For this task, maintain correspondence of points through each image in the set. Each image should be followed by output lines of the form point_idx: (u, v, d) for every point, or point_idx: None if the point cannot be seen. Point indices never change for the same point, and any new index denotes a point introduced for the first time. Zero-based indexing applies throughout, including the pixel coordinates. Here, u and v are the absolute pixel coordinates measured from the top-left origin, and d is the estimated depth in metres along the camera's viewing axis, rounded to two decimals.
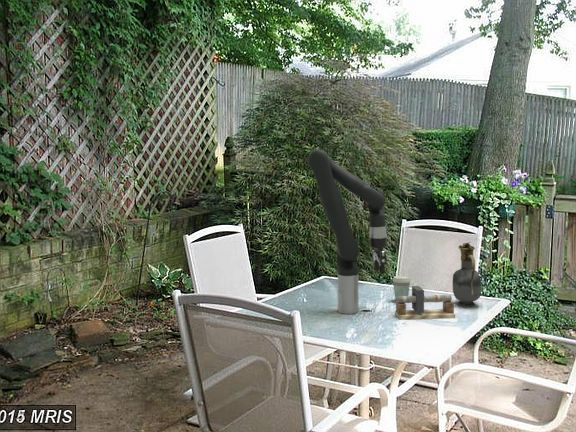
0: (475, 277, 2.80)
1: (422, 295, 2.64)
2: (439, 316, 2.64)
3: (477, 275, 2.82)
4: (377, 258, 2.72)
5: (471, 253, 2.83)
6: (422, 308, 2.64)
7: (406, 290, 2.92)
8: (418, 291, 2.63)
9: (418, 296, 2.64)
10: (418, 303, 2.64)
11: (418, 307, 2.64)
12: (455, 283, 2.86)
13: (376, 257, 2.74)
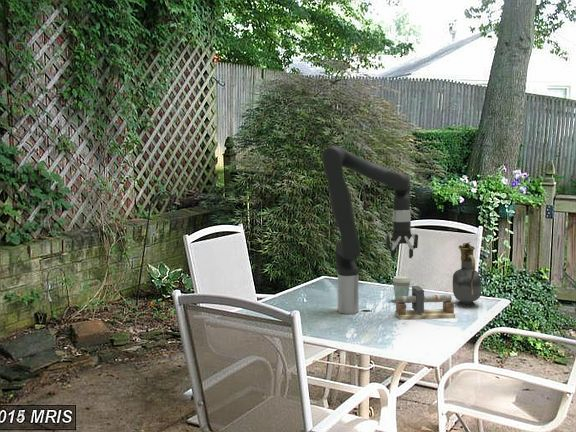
0: (475, 277, 2.80)
1: (422, 295, 2.64)
2: (439, 316, 2.64)
3: (477, 275, 2.82)
4: None
5: (471, 253, 2.83)
6: (422, 308, 2.64)
7: (406, 290, 2.92)
8: (418, 291, 2.63)
9: (418, 296, 2.64)
10: (418, 303, 2.64)
11: (418, 307, 2.64)
12: (455, 283, 2.86)
13: (406, 241, 2.64)
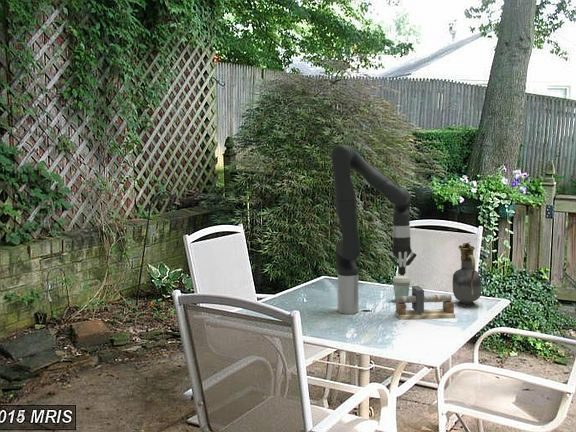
0: (475, 277, 2.80)
1: (422, 295, 2.64)
2: (439, 316, 2.64)
3: (477, 275, 2.82)
4: (406, 259, 2.65)
5: (471, 253, 2.83)
6: (422, 308, 2.64)
7: (406, 290, 2.92)
8: (418, 291, 2.63)
9: (418, 296, 2.64)
10: (418, 303, 2.64)
11: (418, 307, 2.64)
12: (455, 283, 2.86)
13: (404, 257, 2.65)
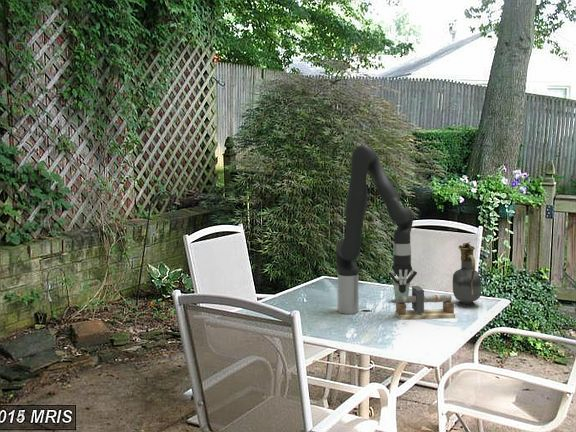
0: (475, 277, 2.80)
1: (422, 295, 2.64)
2: (439, 316, 2.64)
3: (477, 275, 2.82)
4: (406, 277, 2.66)
5: (471, 253, 2.83)
6: (422, 308, 2.64)
7: (406, 290, 2.92)
8: (418, 291, 2.63)
9: (418, 296, 2.64)
10: (418, 303, 2.64)
11: (418, 307, 2.64)
12: (455, 283, 2.86)
13: (404, 274, 2.65)
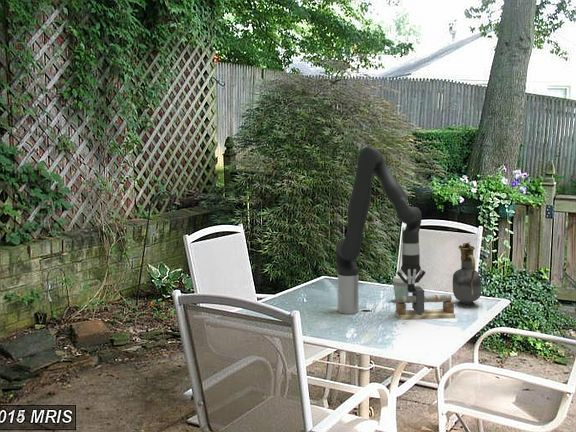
0: (475, 277, 2.80)
1: (422, 295, 2.64)
2: (439, 316, 2.64)
3: (477, 275, 2.82)
4: (415, 277, 2.66)
5: (471, 253, 2.83)
6: (422, 308, 2.64)
7: (406, 290, 2.92)
8: (418, 291, 2.63)
9: (418, 296, 2.64)
10: (418, 303, 2.64)
11: (418, 307, 2.64)
12: (455, 283, 2.86)
13: (413, 274, 2.66)
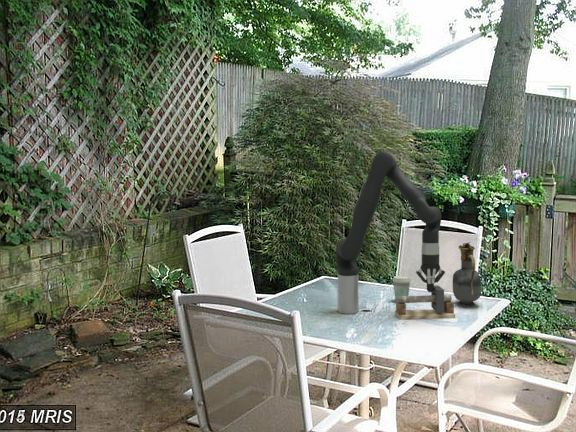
0: (475, 277, 2.80)
1: (442, 294, 2.64)
2: (439, 316, 2.64)
3: (477, 275, 2.82)
4: None
5: (471, 253, 2.83)
6: (442, 307, 2.65)
7: (406, 290, 2.92)
8: (438, 290, 2.64)
9: (438, 295, 2.64)
10: (438, 302, 2.64)
11: (438, 306, 2.65)
12: (455, 283, 2.86)
13: (432, 274, 2.66)
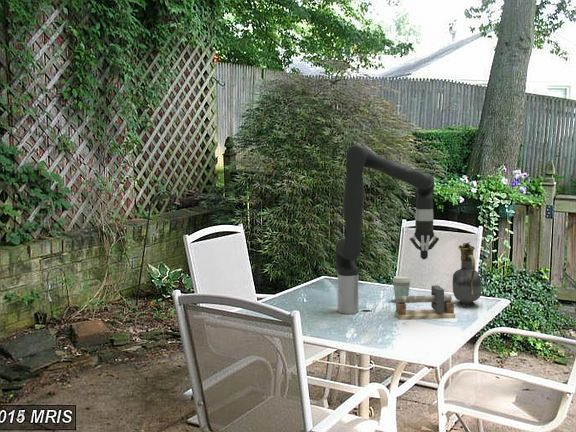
0: (475, 277, 2.80)
1: (442, 294, 2.64)
2: (439, 316, 2.64)
3: (477, 275, 2.82)
4: (428, 243, 2.65)
5: (471, 253, 2.83)
6: (442, 307, 2.65)
7: (406, 290, 2.92)
8: (438, 290, 2.64)
9: (438, 295, 2.64)
10: (438, 302, 2.64)
11: (438, 306, 2.65)
12: (455, 283, 2.86)
13: (426, 240, 2.64)
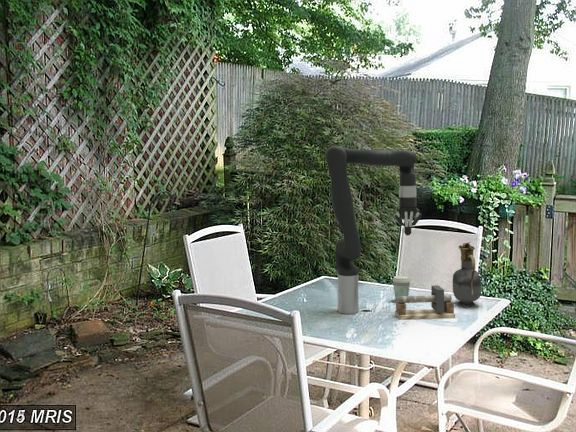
0: (475, 277, 2.80)
1: (442, 294, 2.64)
2: (439, 316, 2.64)
3: (477, 275, 2.82)
4: None
5: (471, 253, 2.83)
6: (442, 307, 2.65)
7: (406, 290, 2.92)
8: (438, 290, 2.64)
9: (438, 295, 2.64)
10: (438, 302, 2.64)
11: (438, 306, 2.65)
12: (455, 283, 2.86)
13: (409, 217, 2.69)
